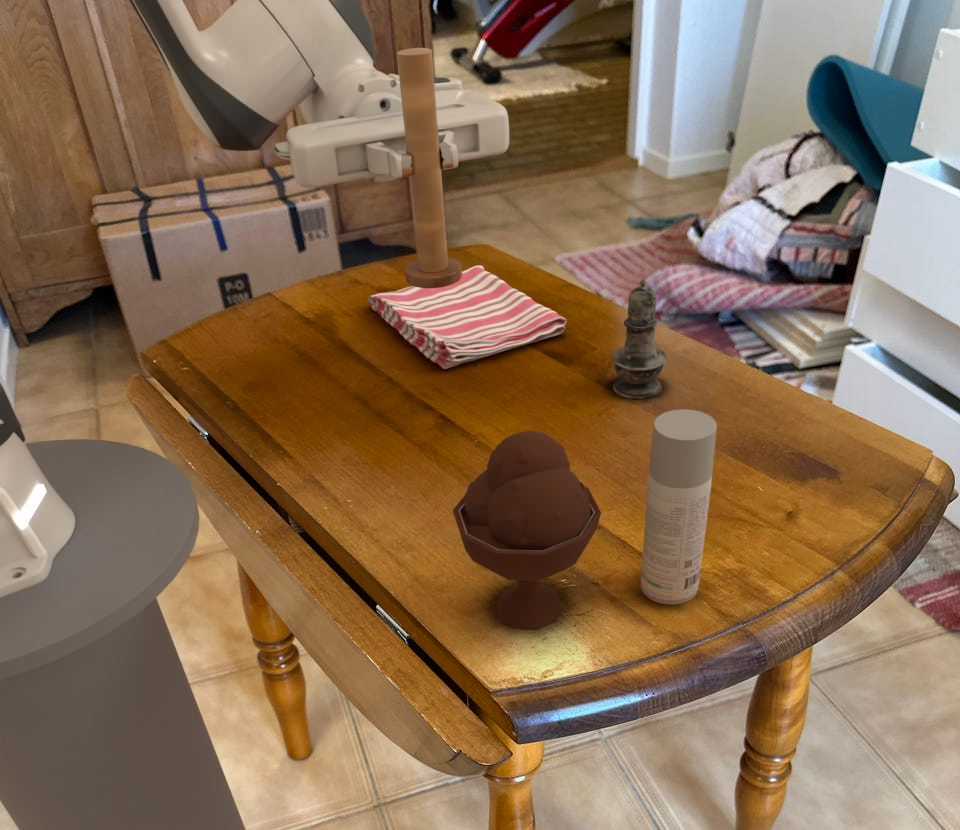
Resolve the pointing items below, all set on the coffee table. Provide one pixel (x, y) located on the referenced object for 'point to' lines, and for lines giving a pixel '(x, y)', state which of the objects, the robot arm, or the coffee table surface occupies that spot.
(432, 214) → the stirring stick
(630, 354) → the salt shaker
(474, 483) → the ice cream bowl
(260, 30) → the robot arm
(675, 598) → the container
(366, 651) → the coffee table surface
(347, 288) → the coffee table surface
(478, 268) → the dish towel
